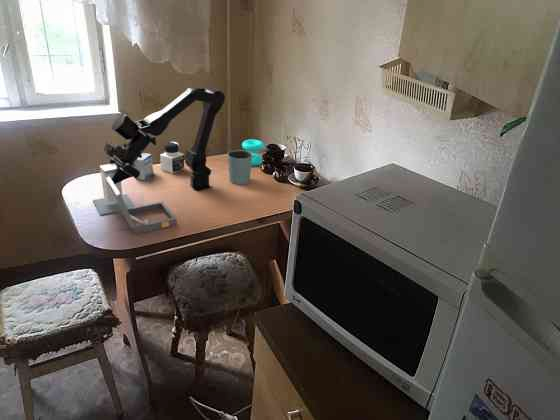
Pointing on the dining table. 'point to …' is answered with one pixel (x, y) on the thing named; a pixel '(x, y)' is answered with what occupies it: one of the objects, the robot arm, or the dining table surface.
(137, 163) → the medicine box
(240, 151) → the grey teal cup
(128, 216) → the equipment case
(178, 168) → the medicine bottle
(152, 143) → the robot arm
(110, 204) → the slate mat
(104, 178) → the block
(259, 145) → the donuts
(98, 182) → the dining table surface
